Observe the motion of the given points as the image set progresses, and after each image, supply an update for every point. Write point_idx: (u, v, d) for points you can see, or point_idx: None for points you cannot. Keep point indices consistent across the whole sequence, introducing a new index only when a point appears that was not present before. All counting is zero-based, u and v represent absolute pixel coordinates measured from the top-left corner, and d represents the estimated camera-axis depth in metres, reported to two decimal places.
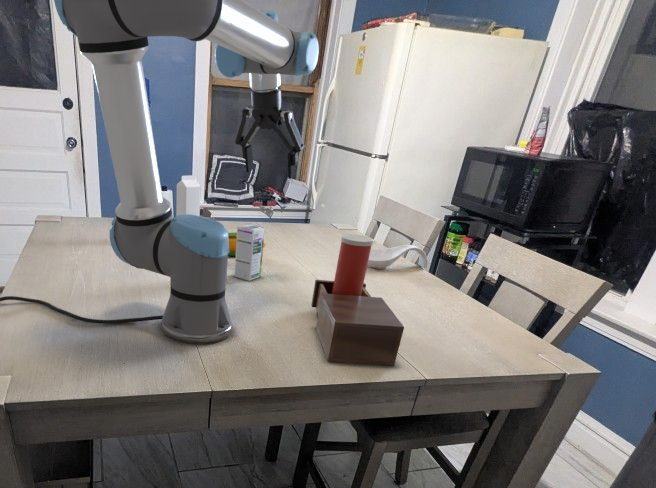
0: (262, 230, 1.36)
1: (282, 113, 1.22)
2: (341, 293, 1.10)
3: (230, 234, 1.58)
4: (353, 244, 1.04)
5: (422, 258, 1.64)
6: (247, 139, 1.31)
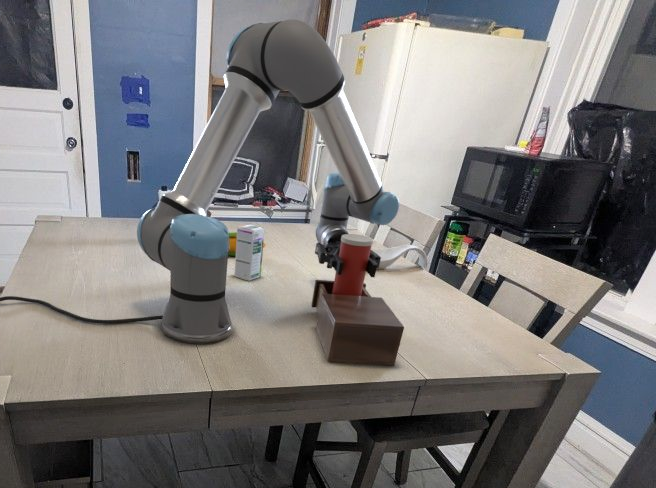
0: (262, 230, 1.36)
1: None
2: (341, 293, 1.10)
3: (230, 234, 1.58)
4: (353, 244, 1.04)
5: (422, 258, 1.64)
6: (334, 251, 1.12)
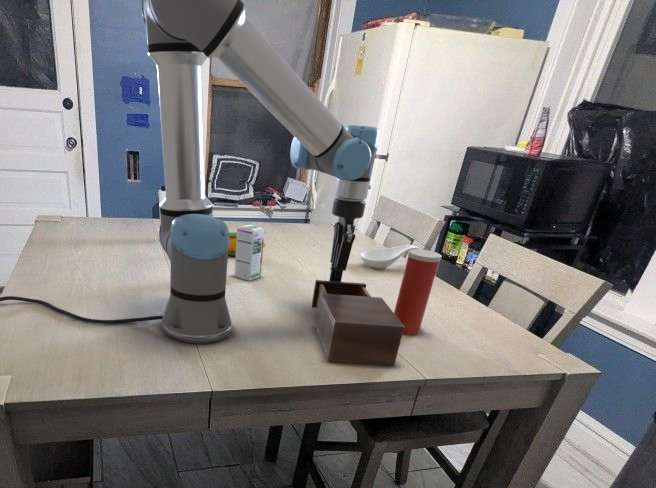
0: (262, 230, 1.36)
1: (347, 231, 1.14)
2: (406, 308, 1.10)
3: (230, 234, 1.58)
4: (422, 260, 1.05)
5: None
6: (333, 255, 1.22)
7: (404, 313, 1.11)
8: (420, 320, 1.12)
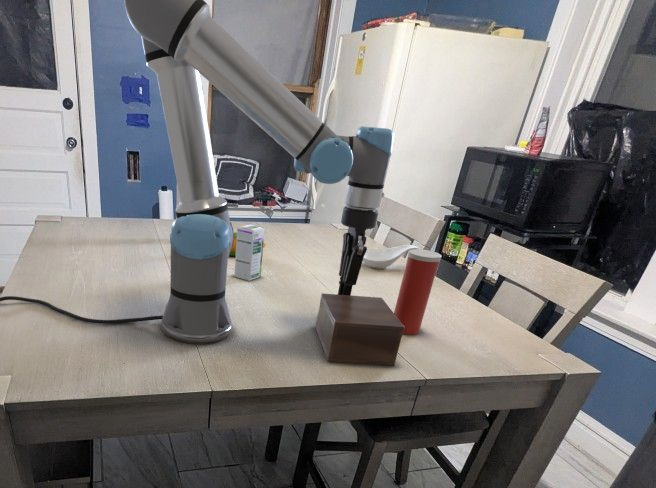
0: (262, 230, 1.36)
1: (358, 243, 1.04)
2: (406, 308, 1.10)
3: None
4: (422, 260, 1.05)
5: None
6: (342, 268, 1.12)
7: (404, 313, 1.11)
8: (420, 320, 1.12)
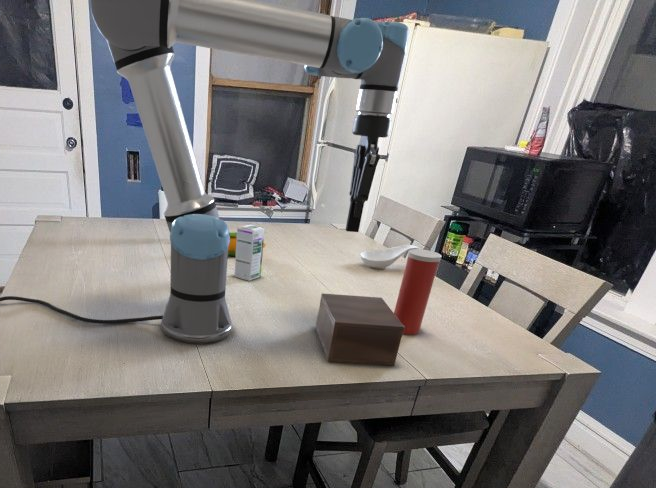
0: (262, 230, 1.36)
1: (370, 151, 0.99)
2: (406, 308, 1.10)
3: (230, 234, 1.58)
4: (422, 260, 1.05)
5: None
6: (353, 185, 1.08)
7: (404, 313, 1.11)
8: (420, 320, 1.12)
